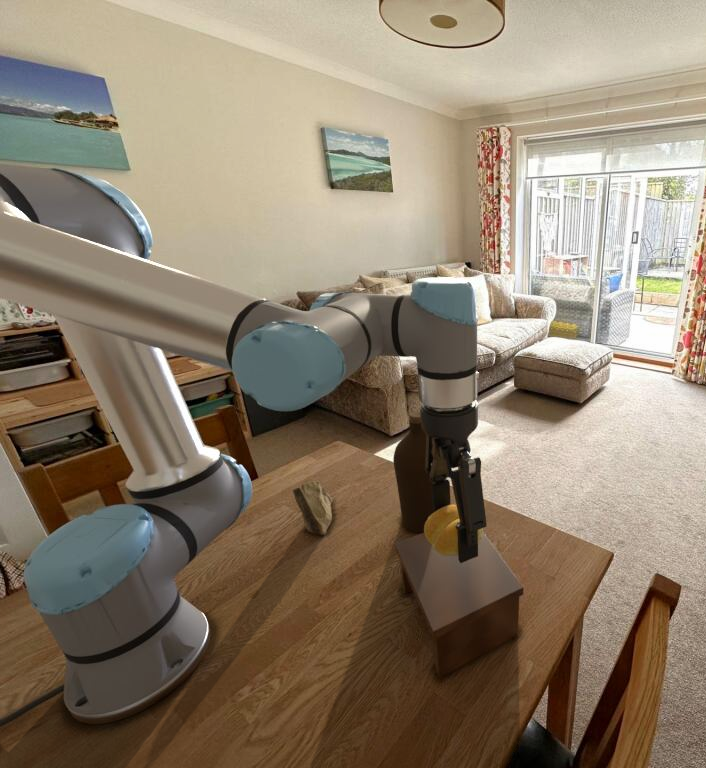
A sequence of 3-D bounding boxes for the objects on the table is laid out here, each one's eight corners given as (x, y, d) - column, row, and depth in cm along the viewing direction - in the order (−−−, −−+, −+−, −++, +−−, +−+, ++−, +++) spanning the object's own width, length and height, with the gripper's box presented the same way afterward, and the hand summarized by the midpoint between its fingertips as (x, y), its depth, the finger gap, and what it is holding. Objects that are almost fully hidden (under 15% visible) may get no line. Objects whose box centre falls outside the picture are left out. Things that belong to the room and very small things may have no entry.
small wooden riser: (436, 682, 56) (433, 631, 52) (399, 587, 70) (394, 543, 67) (521, 634, 63) (523, 587, 59) (471, 557, 77) (471, 515, 73)
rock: (314, 487, 92) (277, 509, 83) (331, 464, 89) (295, 484, 80) (346, 521, 92) (313, 547, 82) (365, 499, 88) (332, 523, 79)
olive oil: (410, 542, 80) (400, 431, 71) (392, 512, 88) (381, 409, 79) (458, 522, 86) (454, 417, 77) (437, 496, 94) (431, 398, 85)
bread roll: (448, 568, 55) (447, 546, 54) (417, 533, 62) (415, 511, 60) (495, 540, 60) (495, 519, 59) (462, 510, 67) (461, 490, 65)
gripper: (517, 428, 46) (512, 577, 54) (444, 370, 63) (449, 489, 71) (455, 445, 42) (461, 601, 50) (396, 378, 59) (408, 503, 68)
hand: (454, 536), depth 61 cm, fingers closed on bread roll, 9 cm apart
